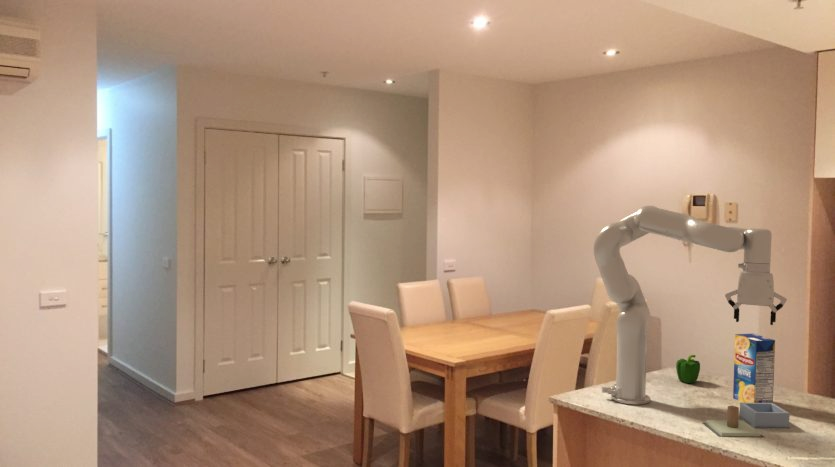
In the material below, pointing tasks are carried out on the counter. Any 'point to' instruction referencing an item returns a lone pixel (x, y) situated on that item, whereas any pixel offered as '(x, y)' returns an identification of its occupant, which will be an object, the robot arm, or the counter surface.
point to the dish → (764, 415)
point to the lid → (732, 425)
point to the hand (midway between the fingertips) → (754, 322)
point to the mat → (727, 436)
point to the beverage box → (753, 368)
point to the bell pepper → (688, 369)
